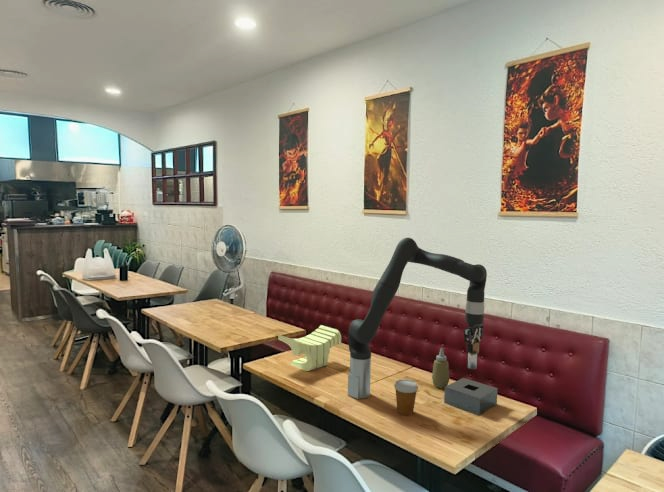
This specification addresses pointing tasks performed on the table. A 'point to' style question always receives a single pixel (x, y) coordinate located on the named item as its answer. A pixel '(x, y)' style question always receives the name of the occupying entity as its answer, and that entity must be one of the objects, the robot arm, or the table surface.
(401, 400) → the disposable coffee cup
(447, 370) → the squeeze bottle
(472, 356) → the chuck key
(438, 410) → the table surface
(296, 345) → the slatted curved stool
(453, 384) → the block
